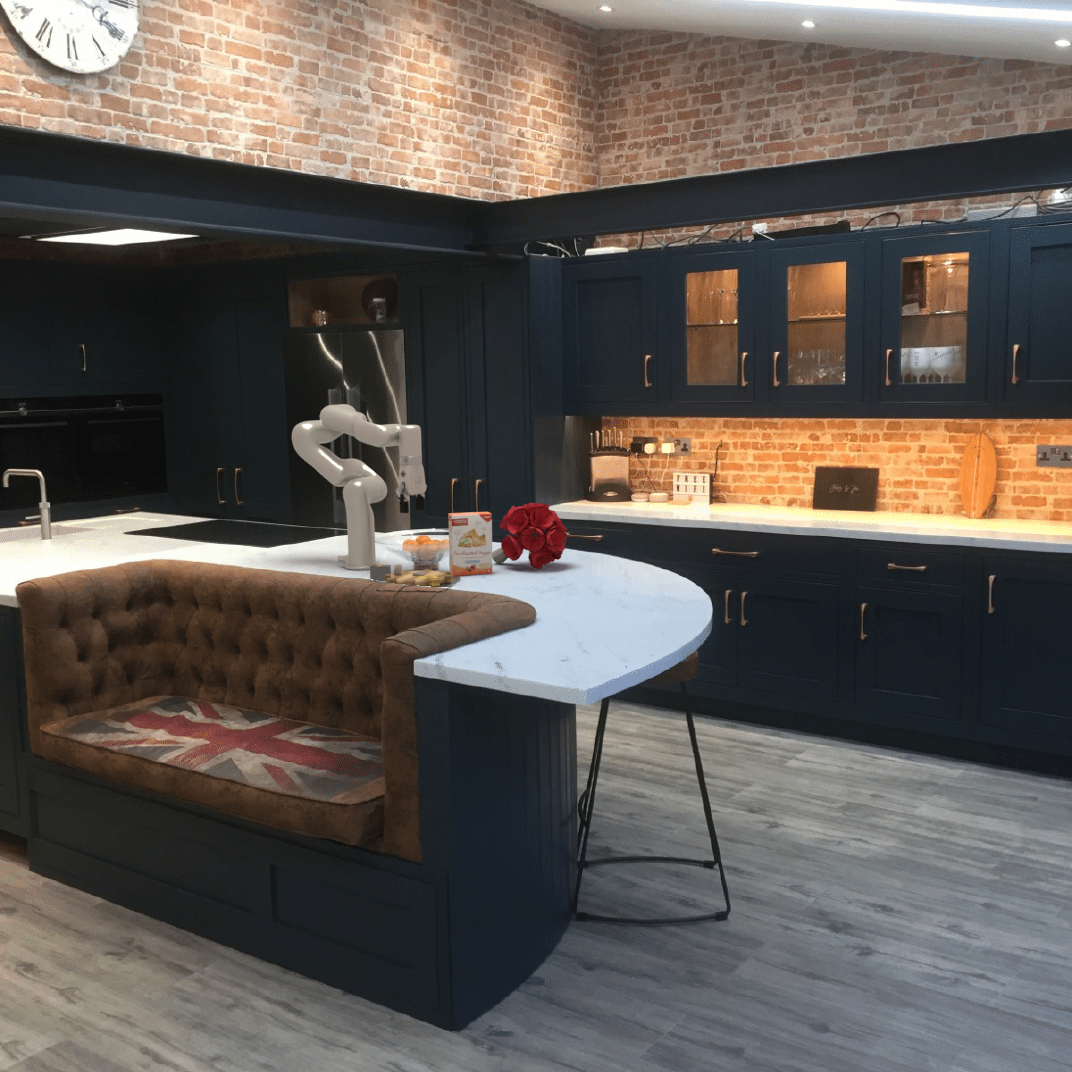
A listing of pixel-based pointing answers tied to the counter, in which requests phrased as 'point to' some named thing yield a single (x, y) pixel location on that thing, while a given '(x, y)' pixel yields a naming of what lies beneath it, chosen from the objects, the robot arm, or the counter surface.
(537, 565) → the bouquet
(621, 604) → the counter surface
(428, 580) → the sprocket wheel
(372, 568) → the grey small block
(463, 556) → the cracker box
